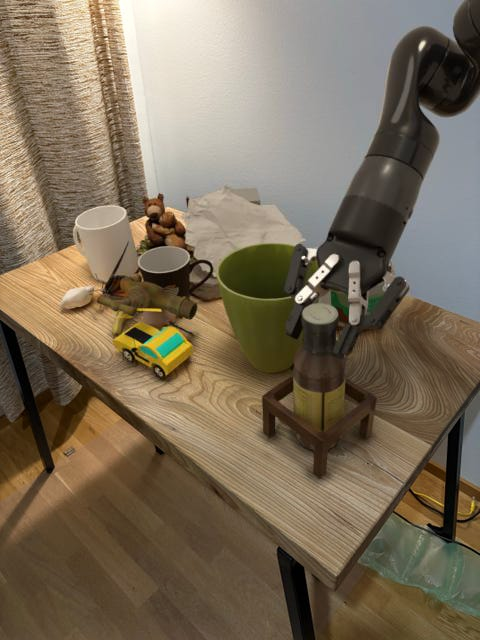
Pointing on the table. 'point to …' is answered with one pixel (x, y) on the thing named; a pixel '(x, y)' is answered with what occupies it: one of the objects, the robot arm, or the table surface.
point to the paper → (232, 226)
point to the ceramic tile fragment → (204, 284)
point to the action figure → (148, 299)
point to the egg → (158, 318)
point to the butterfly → (113, 282)
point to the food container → (342, 303)
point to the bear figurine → (162, 229)
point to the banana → (118, 324)
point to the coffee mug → (170, 269)
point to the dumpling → (77, 297)
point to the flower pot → (261, 303)
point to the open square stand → (309, 433)
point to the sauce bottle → (319, 371)
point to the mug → (106, 241)
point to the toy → (248, 194)
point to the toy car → (154, 346)
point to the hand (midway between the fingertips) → (314, 346)
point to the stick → (181, 328)
